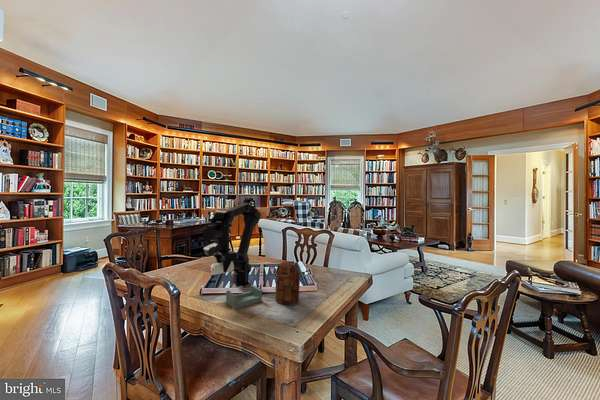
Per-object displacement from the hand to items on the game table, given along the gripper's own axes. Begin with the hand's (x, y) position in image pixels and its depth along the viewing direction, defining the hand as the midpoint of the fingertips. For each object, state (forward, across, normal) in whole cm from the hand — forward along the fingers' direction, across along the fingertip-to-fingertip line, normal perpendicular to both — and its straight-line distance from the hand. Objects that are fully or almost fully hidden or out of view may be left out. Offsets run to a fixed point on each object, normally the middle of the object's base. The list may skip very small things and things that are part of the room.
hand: (222, 270), depth 133 cm
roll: (+1, 0, 0) cm, 1 cm away
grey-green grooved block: (+11, +14, +4) cm, 18 cm away
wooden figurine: (+11, +24, +19) cm, 33 cm away
